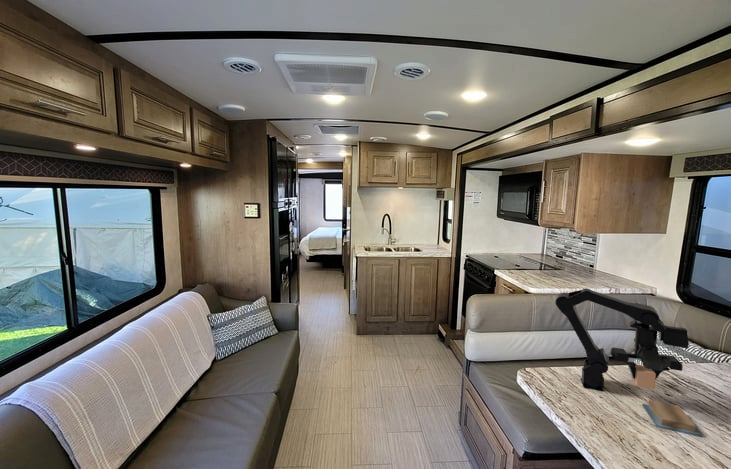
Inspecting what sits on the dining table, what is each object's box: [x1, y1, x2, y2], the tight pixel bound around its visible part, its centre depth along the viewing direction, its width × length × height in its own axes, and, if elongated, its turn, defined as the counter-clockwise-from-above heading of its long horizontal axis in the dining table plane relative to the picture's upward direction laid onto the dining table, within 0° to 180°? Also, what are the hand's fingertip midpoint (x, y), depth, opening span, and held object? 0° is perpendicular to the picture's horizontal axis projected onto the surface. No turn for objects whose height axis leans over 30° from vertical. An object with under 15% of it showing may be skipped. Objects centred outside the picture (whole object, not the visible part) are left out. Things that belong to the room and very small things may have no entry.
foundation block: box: [641, 399, 703, 438], centre depth 99 cm, size 11×11×3 cm
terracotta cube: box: [631, 364, 656, 390], centre depth 109 cm, size 5×5×6 cm
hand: (643, 379), depth 109 cm, fingers closed on terracotta cube, 5 cm apart
